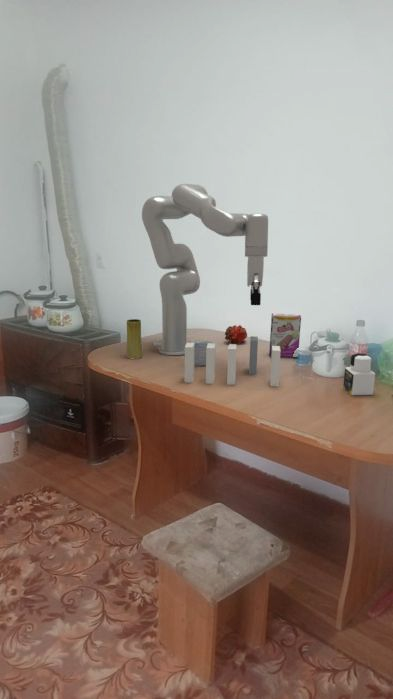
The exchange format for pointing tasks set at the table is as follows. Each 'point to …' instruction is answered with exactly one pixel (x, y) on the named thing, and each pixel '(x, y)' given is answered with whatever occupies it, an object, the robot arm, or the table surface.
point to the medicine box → (200, 352)
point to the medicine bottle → (359, 375)
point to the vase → (134, 338)
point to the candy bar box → (285, 333)
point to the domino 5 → (275, 366)
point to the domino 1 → (189, 362)
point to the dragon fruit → (235, 334)
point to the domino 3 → (231, 364)
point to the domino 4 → (253, 355)
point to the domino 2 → (210, 363)
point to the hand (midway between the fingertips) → (255, 302)
